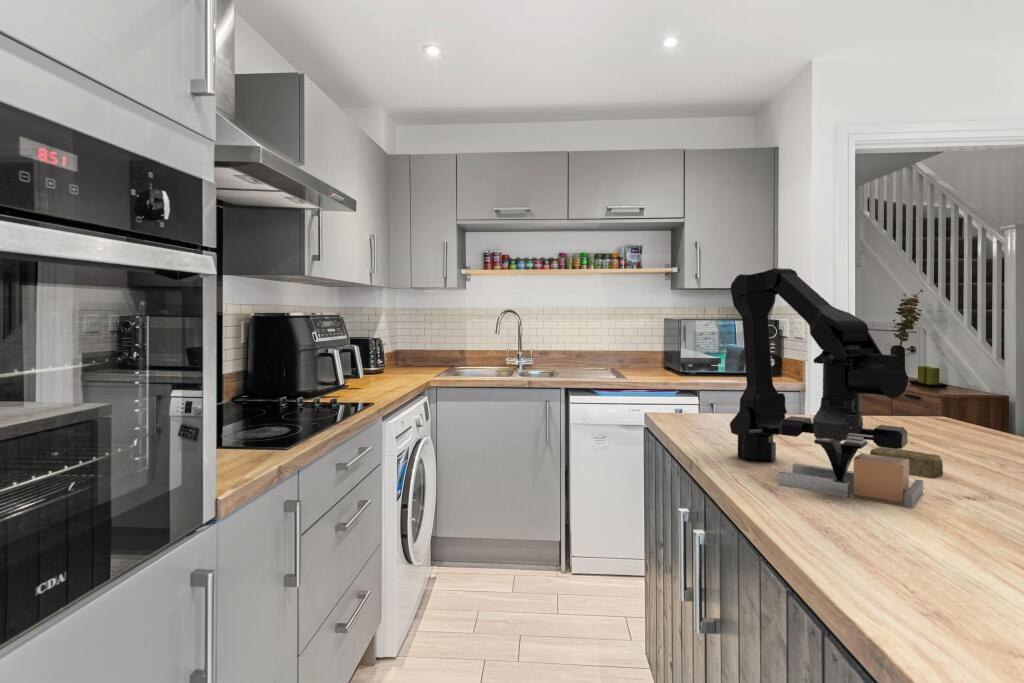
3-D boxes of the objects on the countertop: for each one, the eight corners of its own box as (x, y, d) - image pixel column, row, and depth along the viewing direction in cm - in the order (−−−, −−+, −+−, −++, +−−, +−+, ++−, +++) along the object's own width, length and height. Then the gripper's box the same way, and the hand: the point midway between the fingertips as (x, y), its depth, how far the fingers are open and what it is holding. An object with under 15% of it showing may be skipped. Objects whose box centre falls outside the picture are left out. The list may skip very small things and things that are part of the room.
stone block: (934, 485, 108) (934, 458, 108) (865, 473, 117) (865, 448, 117) (944, 480, 112) (945, 453, 111) (877, 468, 121) (877, 444, 121)
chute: (776, 490, 105) (776, 473, 105) (796, 477, 113) (796, 462, 113) (911, 514, 92) (912, 495, 91) (922, 498, 100) (923, 480, 100)
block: (853, 494, 99) (853, 458, 99) (860, 487, 103) (861, 453, 103) (902, 502, 94) (903, 465, 94) (908, 495, 98) (909, 459, 98)
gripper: (769, 391, 103) (768, 480, 103) (895, 400, 90) (893, 502, 91) (790, 385, 111) (789, 468, 112) (908, 393, 98) (907, 487, 99)
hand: (840, 480), depth 103 cm, fingers closed
